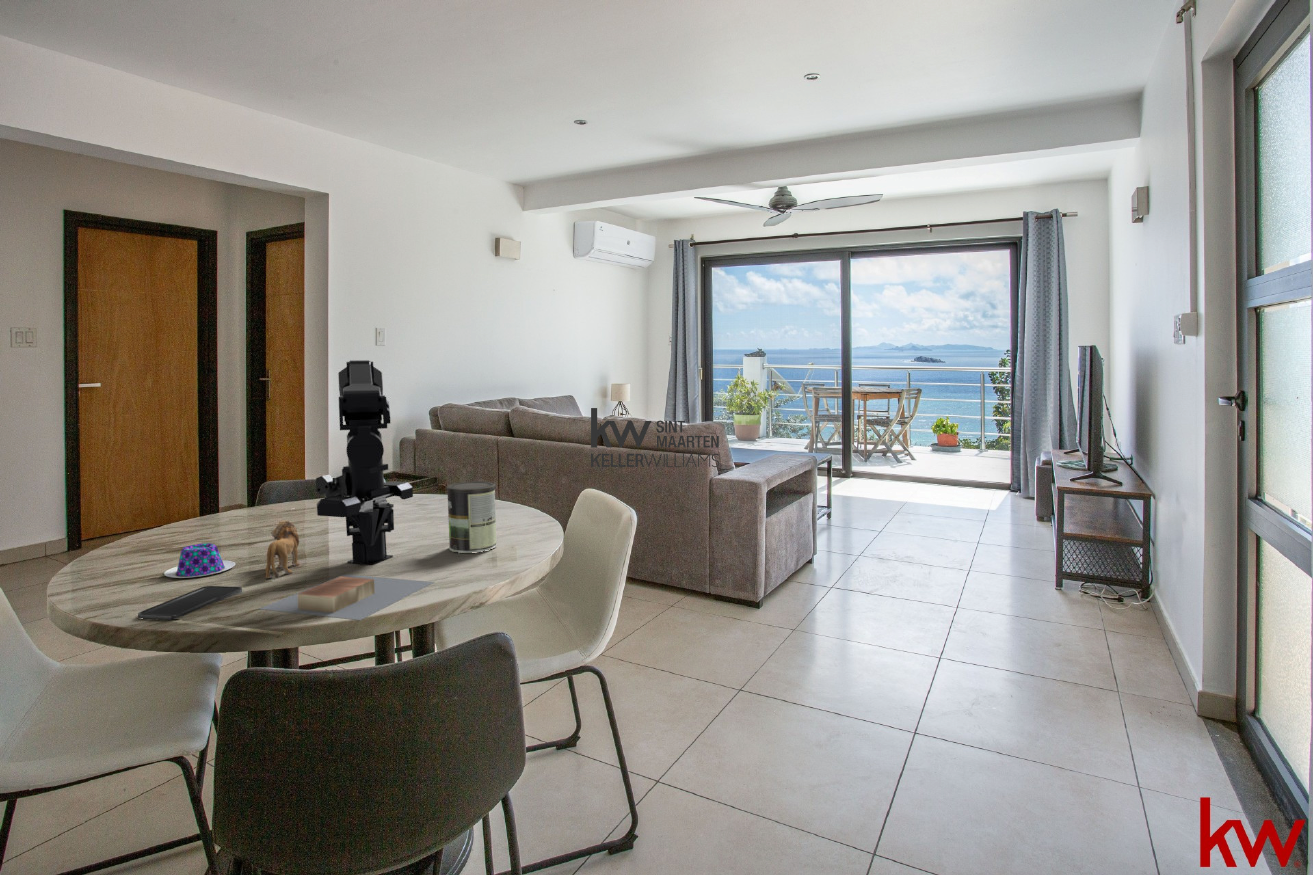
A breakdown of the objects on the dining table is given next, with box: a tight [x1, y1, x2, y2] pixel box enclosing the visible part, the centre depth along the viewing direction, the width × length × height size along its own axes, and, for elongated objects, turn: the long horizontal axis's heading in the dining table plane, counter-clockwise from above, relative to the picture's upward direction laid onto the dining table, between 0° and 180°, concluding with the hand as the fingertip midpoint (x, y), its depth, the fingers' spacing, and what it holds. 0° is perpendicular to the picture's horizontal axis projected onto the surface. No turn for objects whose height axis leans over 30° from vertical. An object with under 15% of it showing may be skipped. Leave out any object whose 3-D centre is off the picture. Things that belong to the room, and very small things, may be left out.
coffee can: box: [446, 480, 497, 554], centre depth 154 cm, size 10×10×14 cm
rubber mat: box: [258, 573, 435, 621], centre depth 123 cm, size 20×20×1 cm
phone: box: [137, 585, 243, 622], centre depth 120 cm, size 8×1×15 cm
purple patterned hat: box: [163, 542, 236, 579], centre depth 140 cm, size 12×12×5 cm
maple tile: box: [297, 575, 375, 613], centre depth 119 cm, size 2×7×10 cm
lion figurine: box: [264, 520, 300, 579], centre depth 139 cm, size 15×5×9 cm, turn 21°
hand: (370, 545), depth 127 cm, fingers closed
